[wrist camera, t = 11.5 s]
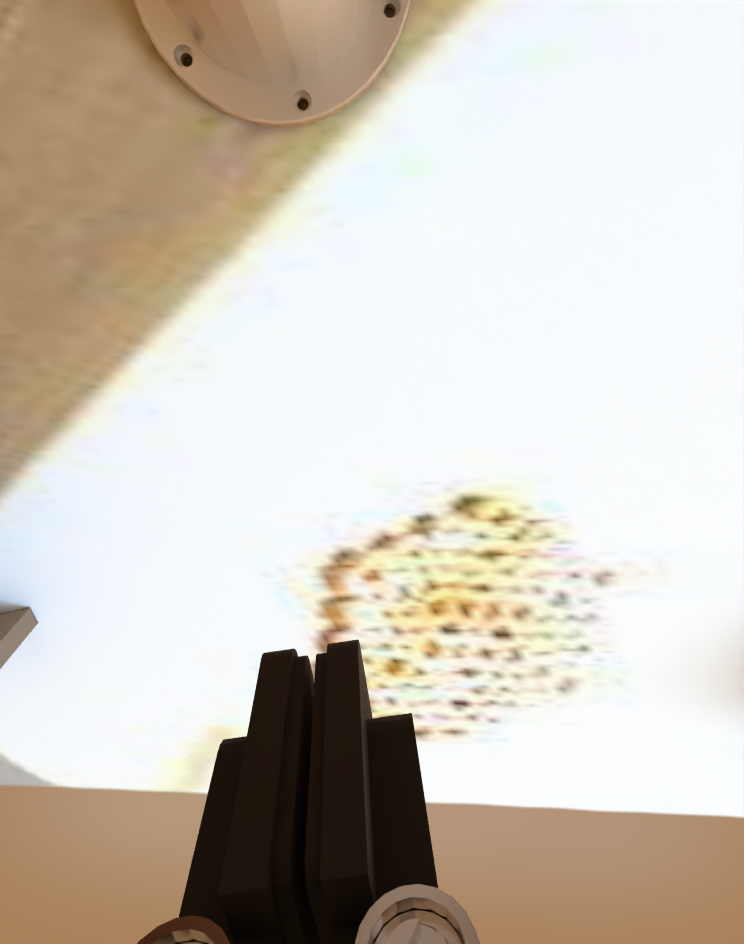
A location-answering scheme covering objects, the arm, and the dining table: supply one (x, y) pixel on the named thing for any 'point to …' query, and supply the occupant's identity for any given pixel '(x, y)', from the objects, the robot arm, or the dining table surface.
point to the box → (14, 631)
